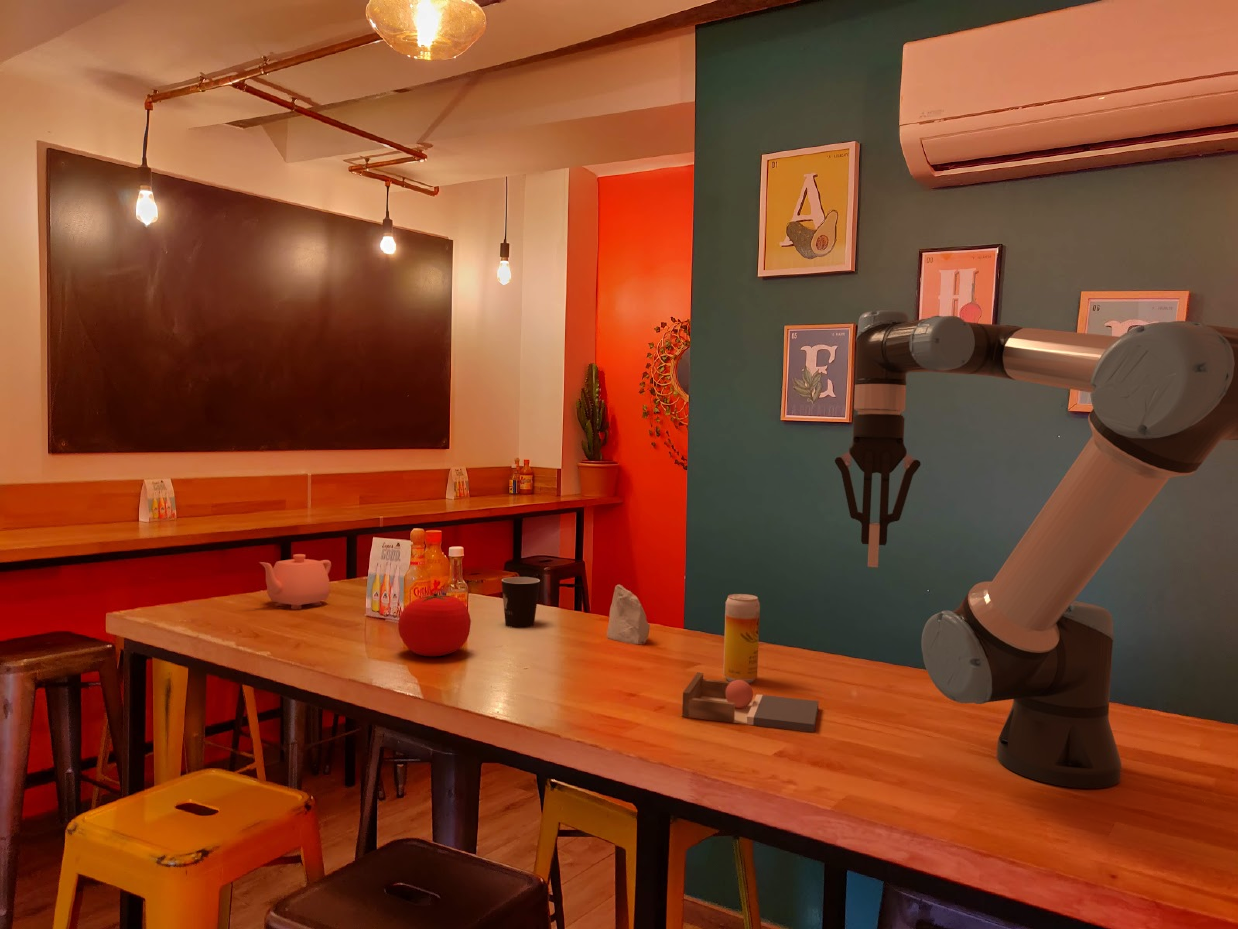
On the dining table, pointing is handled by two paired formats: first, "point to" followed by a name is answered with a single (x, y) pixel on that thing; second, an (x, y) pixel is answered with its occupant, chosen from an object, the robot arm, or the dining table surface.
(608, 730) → the dining table surface
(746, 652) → the beer can
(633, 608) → the stone
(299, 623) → the dining table surface
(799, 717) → the lane mat
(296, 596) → the teapot
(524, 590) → the coffee mug
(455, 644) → the tomato
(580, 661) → the dining table surface
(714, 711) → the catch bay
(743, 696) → the ball
